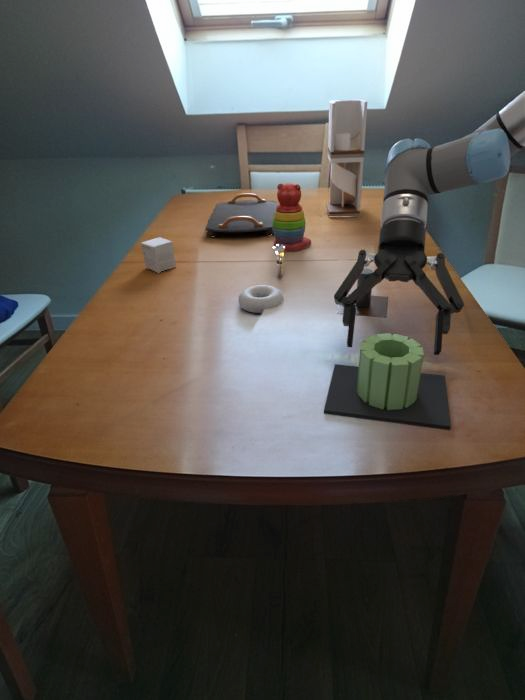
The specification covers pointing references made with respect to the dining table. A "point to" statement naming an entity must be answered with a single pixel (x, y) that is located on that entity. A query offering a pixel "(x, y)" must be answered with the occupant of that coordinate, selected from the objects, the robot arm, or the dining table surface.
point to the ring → (279, 256)
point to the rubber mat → (422, 412)
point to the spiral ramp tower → (346, 156)
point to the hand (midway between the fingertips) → (392, 349)
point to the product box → (158, 254)
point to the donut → (260, 298)
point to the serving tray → (242, 215)
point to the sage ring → (389, 371)
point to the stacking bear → (289, 219)
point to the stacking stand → (368, 301)
